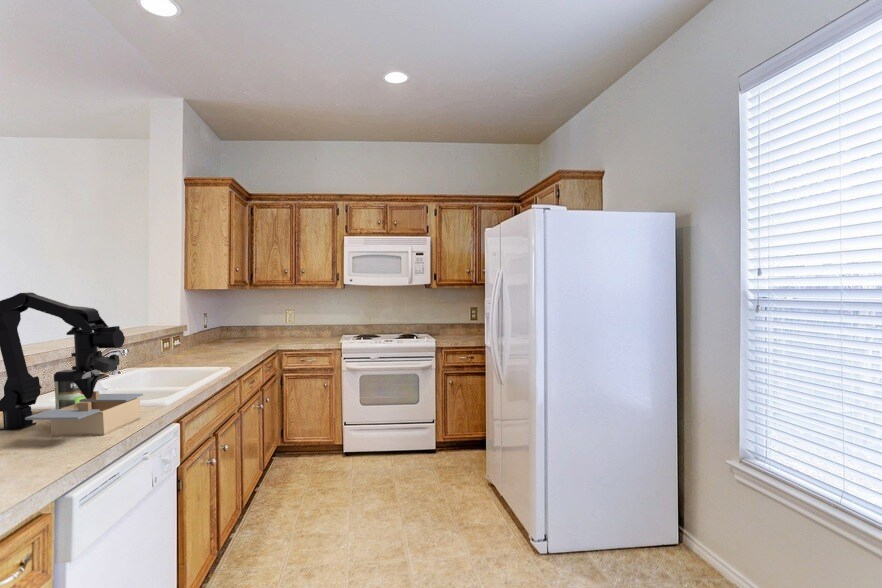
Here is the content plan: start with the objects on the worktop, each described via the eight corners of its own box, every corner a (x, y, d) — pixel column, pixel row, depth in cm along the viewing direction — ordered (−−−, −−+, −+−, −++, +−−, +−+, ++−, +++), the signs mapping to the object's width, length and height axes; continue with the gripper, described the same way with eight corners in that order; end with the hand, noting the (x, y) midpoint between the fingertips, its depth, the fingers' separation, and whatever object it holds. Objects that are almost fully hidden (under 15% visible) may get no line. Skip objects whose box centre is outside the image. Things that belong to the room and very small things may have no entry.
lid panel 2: (79, 401, 151) (79, 392, 151) (98, 395, 159) (97, 386, 159) (126, 401, 151) (125, 392, 150) (142, 395, 158) (142, 386, 158)
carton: (51, 435, 141) (50, 412, 141) (93, 419, 157) (92, 398, 157) (104, 435, 141) (103, 411, 140) (140, 419, 156) (139, 397, 156)
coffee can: (100, 410, 169) (98, 370, 168) (68, 418, 159) (66, 376, 159) (80, 407, 172) (78, 368, 172) (48, 415, 163) (46, 374, 162)
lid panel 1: (25, 419, 132) (24, 409, 132) (49, 411, 140) (49, 401, 140) (78, 419, 132) (77, 408, 132) (99, 411, 140) (99, 401, 139)
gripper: (87, 353, 140) (89, 406, 141) (131, 344, 159) (134, 391, 159) (50, 353, 141) (53, 406, 141) (99, 344, 159) (101, 391, 160)
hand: (88, 398), depth 150 cm, fingers closed
